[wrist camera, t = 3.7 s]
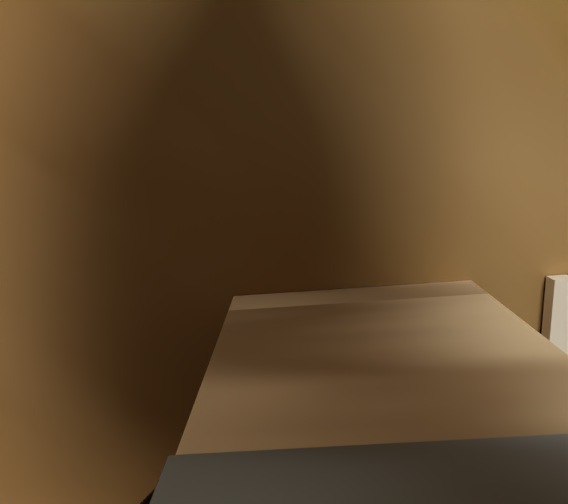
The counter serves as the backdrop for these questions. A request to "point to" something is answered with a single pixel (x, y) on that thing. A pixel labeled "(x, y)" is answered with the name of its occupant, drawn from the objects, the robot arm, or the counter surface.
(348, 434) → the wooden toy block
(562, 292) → the card
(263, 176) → the counter surface
